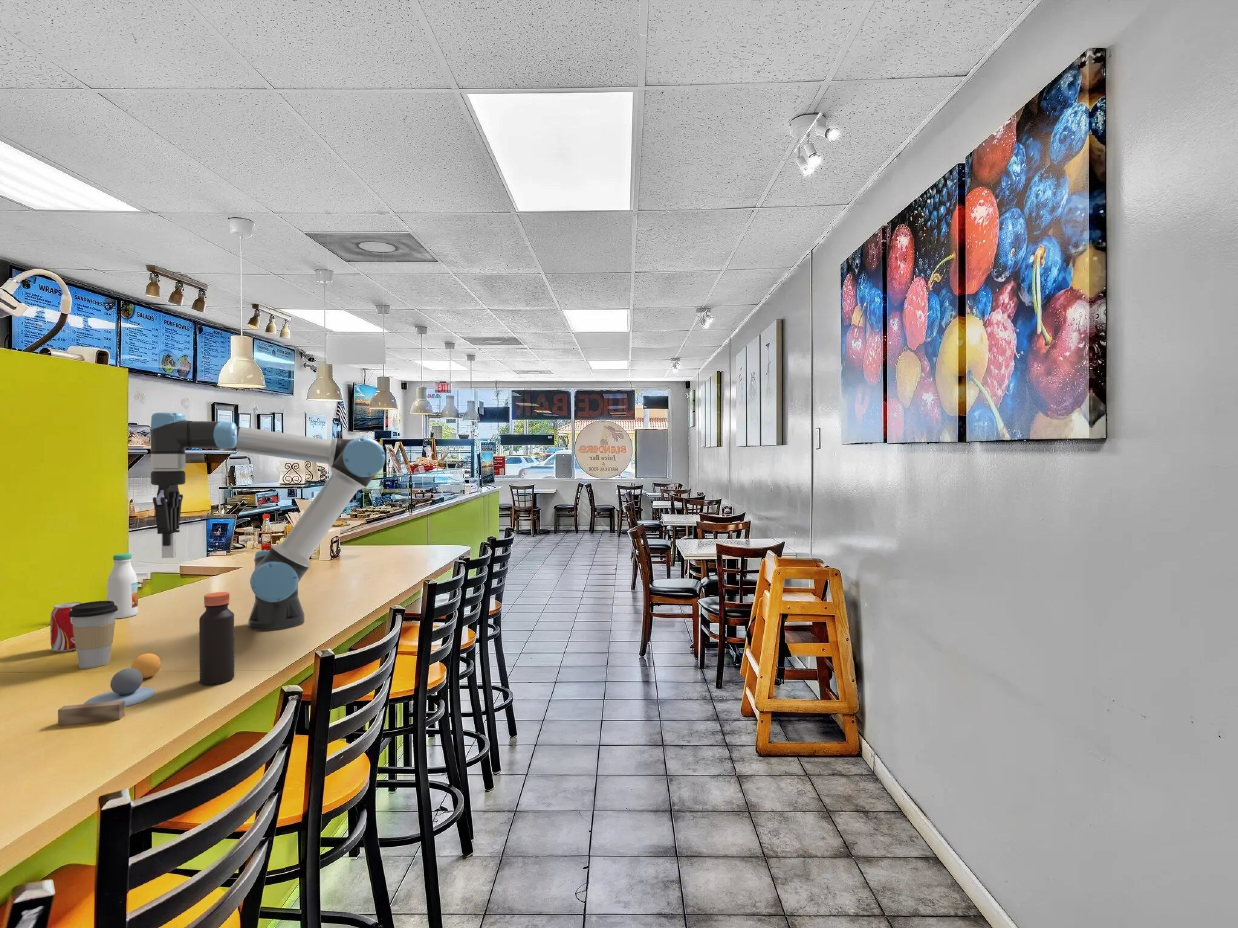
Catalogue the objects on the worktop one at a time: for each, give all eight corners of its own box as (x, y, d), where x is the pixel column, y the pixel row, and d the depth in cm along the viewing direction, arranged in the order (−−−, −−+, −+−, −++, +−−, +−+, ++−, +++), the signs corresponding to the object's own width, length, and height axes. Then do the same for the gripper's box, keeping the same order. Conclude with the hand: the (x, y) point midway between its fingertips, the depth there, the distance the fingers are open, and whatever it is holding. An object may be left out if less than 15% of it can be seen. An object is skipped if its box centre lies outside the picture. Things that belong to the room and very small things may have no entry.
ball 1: (145, 661, 137) (133, 677, 132) (148, 682, 138) (137, 698, 133) (115, 664, 135) (103, 679, 130) (119, 685, 137) (107, 701, 132)
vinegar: (210, 675, 146) (210, 591, 146) (240, 674, 146) (240, 590, 146) (192, 685, 139) (192, 597, 139) (223, 685, 139) (223, 597, 139)
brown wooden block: (124, 715, 123) (124, 700, 123) (119, 719, 121) (119, 704, 121) (64, 720, 121) (64, 705, 120) (58, 725, 119) (57, 709, 119)
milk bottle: (124, 619, 194) (124, 556, 194) (100, 619, 195) (100, 555, 194) (143, 613, 202) (143, 552, 202) (120, 612, 202) (120, 552, 202)
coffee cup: (127, 660, 156) (127, 601, 156) (84, 673, 147) (84, 610, 147) (102, 656, 159) (102, 598, 159) (59, 668, 150) (58, 607, 150)
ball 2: (153, 653, 143) (152, 678, 142) (165, 650, 148) (165, 674, 147) (126, 656, 141) (125, 681, 141) (140, 653, 147) (139, 677, 146)
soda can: (64, 654, 160) (64, 608, 160) (43, 652, 162) (42, 606, 162) (92, 646, 167) (92, 602, 167) (72, 644, 169) (71, 600, 169)
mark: (165, 685, 139) (165, 685, 139) (139, 706, 127) (139, 705, 127) (101, 691, 136) (101, 690, 136) (69, 713, 124) (69, 712, 124)
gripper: (162, 469, 171) (163, 554, 172) (140, 470, 159) (141, 562, 159) (193, 469, 173) (194, 553, 174) (174, 470, 161) (174, 560, 161)
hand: (168, 557), depth 166 cm, fingers closed
